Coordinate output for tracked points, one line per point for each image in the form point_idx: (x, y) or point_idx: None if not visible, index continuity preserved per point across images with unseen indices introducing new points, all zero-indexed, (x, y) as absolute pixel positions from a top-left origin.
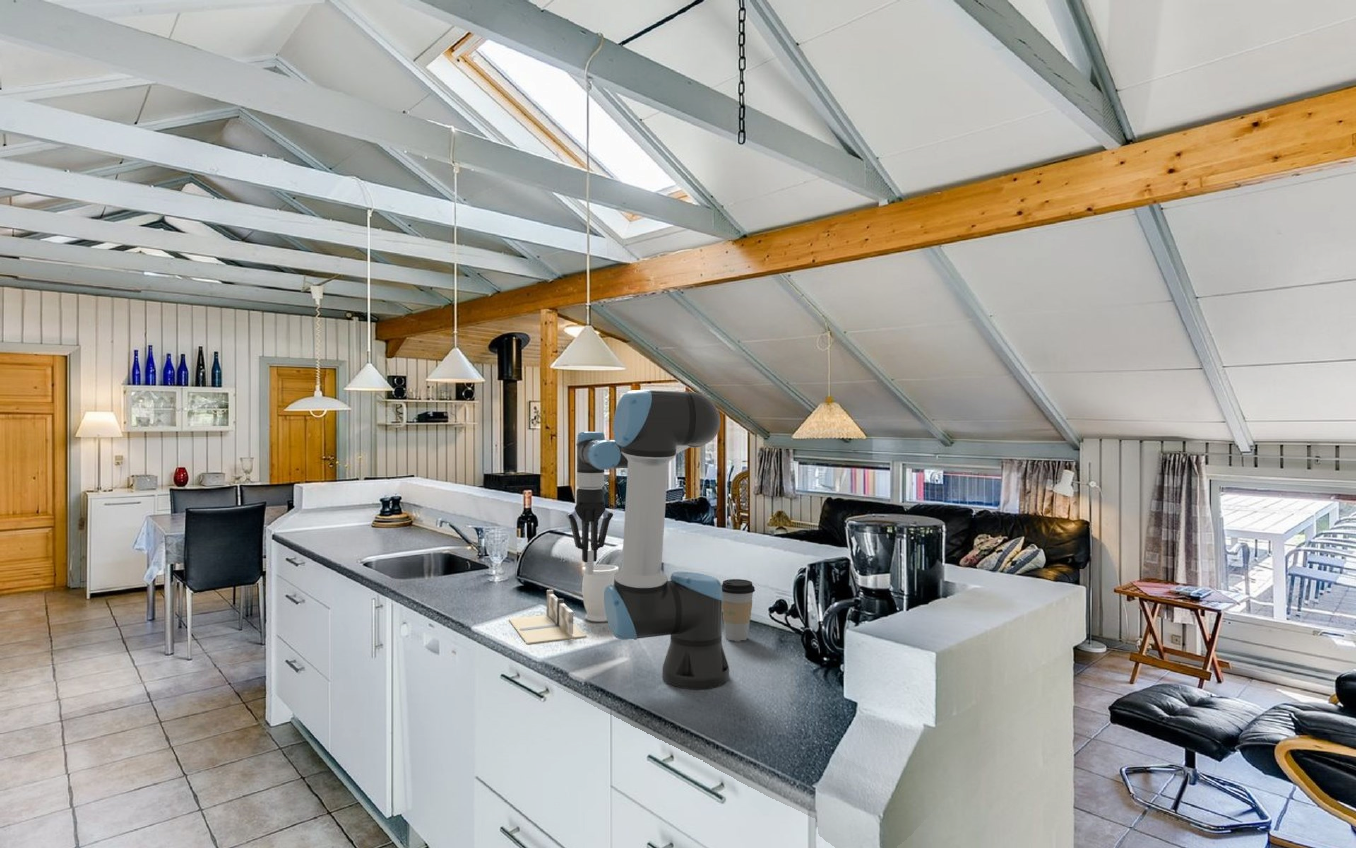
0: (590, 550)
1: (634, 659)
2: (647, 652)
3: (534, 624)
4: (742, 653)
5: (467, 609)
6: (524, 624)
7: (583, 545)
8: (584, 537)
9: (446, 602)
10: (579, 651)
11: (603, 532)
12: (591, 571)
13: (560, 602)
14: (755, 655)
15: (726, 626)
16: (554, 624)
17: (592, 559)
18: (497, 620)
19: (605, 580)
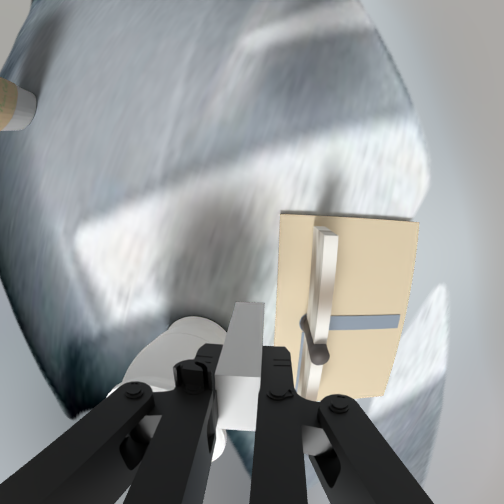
0: (236, 389)
1: (232, 32)
2: (188, 60)
3: (358, 348)
4: (59, 38)
5: (401, 452)
6: (376, 354)
7: (300, 422)
8: (304, 472)
9: None
10: (329, 119)
11: (70, 465)
12: (244, 309)
13: (323, 345)
14: (52, 30)
15: (22, 101)
16: None
17: (231, 341)
18: (397, 397)
19: (164, 369)
